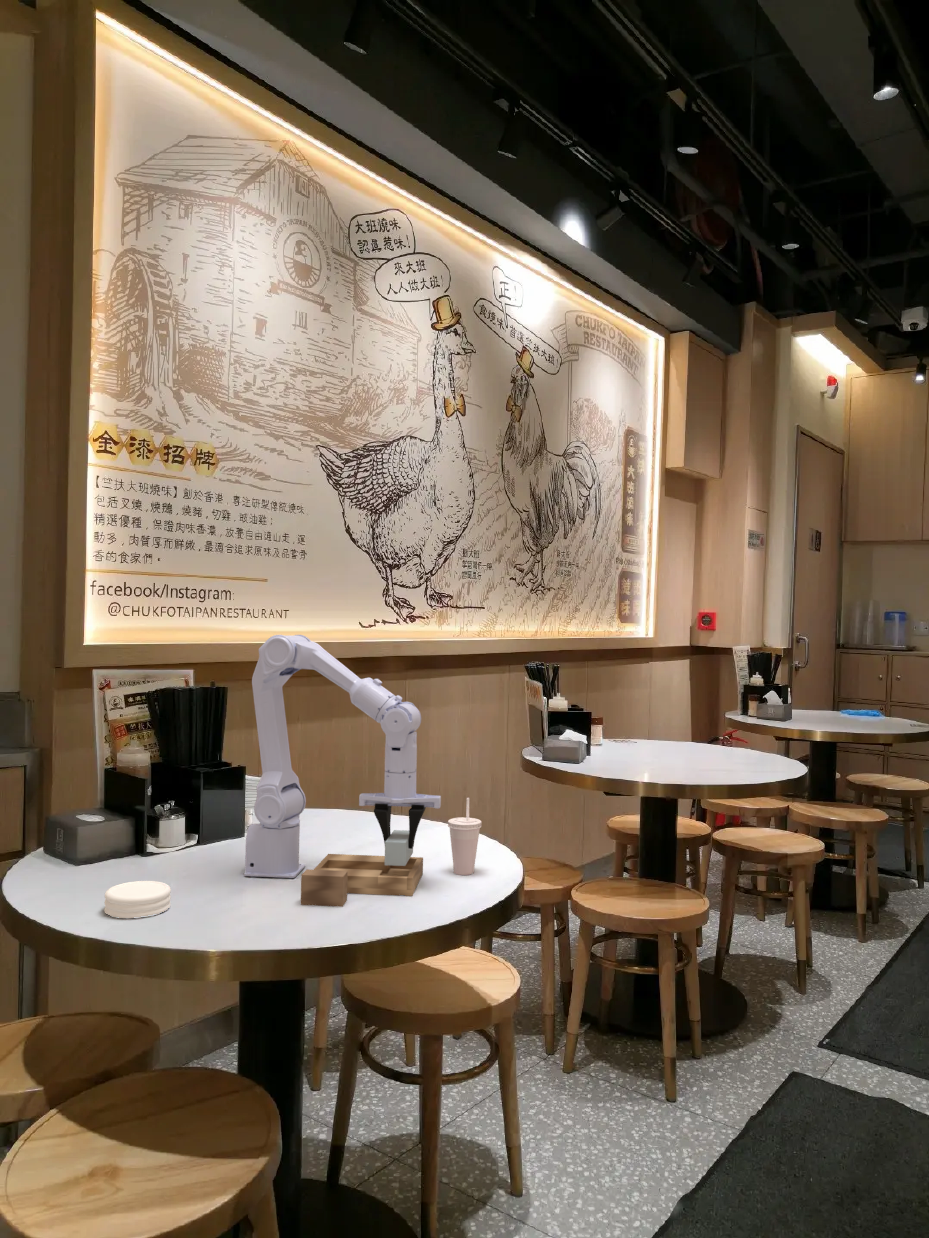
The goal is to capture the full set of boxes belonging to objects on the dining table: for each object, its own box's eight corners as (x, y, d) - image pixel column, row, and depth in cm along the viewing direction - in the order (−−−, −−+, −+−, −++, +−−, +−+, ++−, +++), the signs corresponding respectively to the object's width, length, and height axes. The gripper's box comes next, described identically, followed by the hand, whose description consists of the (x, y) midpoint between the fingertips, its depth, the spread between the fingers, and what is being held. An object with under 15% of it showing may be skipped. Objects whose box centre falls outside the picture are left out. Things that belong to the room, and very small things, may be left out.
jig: (308, 891, 153) (309, 874, 153) (327, 869, 167) (328, 853, 167) (412, 895, 151) (412, 878, 151) (422, 873, 165) (423, 857, 165)
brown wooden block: (300, 905, 145) (301, 874, 145) (306, 899, 149) (306, 869, 149) (342, 907, 145) (343, 876, 145) (347, 900, 148) (347, 870, 148)
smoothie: (477, 878, 163) (478, 801, 163) (443, 875, 164) (444, 799, 164) (483, 869, 169) (484, 795, 169) (450, 866, 170) (452, 793, 170)
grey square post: (384, 865, 154) (385, 841, 154) (393, 851, 164) (394, 829, 164) (405, 865, 153) (405, 842, 154) (413, 852, 163) (413, 830, 163)
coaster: (100, 905, 144) (100, 884, 144) (164, 897, 148) (164, 876, 148) (108, 924, 135) (109, 901, 135) (176, 915, 140) (176, 892, 140)
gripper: (356, 773, 155) (354, 850, 155) (438, 775, 154) (437, 853, 154) (363, 767, 162) (362, 841, 162) (442, 769, 161) (441, 844, 161)
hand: (399, 846), depth 158 cm, fingers closed on grey square post, 4 cm apart
